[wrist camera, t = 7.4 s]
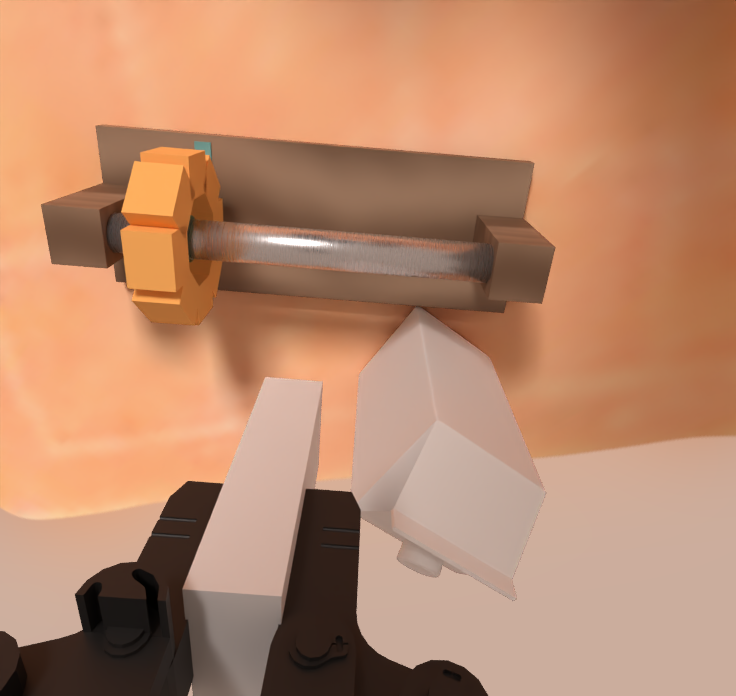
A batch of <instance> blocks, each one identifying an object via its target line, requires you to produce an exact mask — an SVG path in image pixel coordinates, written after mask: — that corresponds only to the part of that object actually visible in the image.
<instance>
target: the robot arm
mask: <svg viewBox="0 0 736 696" xmlns="http://www.w3.org/2000/svg"><path fill="white" fill-rule="evenodd" d="M322 386H323V382H322V381H310V380H297V379H285V378H272V377H265V379H264V382H263V384H262V387H261V389H260V392H259V395H258V397H257V400H256V402H255V405H254V407H253V410H252V412H251V415H250V418H249V420H248V423H247V425H246V428H245V430H244V433H243V435H242V438H241V441H240V443H239V446H238V448H237V451H236V453H235V456H234V458H233V461H232V464H231V466H230V469H229V471H228V474H227V476H226V479H225V481H224V484H220V483H207V482H194V481H187V482H186V483H185V484H184V485H183V486H182V487H181V488H179V489H178V490H177V491H176V492H175V493H174V494H173V495H171V496H170V498H169V500H168V502H167V503H166V505H165V507H164V509H163V511H162V514H161V515H160V520H158V521H157V523H156V525H155V527H154V529H153V531H152V535H151V537H149V539H148V541H147V543H146V545H145V547H144V549H143V551H142V553H141V555H140V557H139V559H138V561H137V562H129V563H120V564H117V565H114V566H112V567H109V568H106V569H103V570H102V571H100V572H99V573H97V574H96V575H94V576H93V577H91V578H90V579H88V580H87V581H86V582H85V583H84V584H83V586H82V587H81V588H80V589H79V590H78V591H77V593H76V594H75V597H76V601H77V605H78V610H79V614H80V619H81V623H82V627H83V630H82V631H80V632H78V633H76V634H73V635H69V636H66V637H63V638H59V639H55V640H50V641H46V642H42V643H37V644H32V645H28V646H23V647H19V648H18V645H17V642H16V639H14V638H13V637H12V636H10V635H9V634H7V633H6V632H3V631H0V696H188V692H189V689H190V686H191V683H192V690H193V696H488V694H487V693H486V691H485V690H484V688H483V686H482V685H481V683H480V681H479V680H478V679H477V678H476V677H475V676H474V675H473V674H471V673H470V672H469V671H468V670H467V669H465V668H464V667H462V666H459V665H457V664H455V663H452V662H450V661H445V660H430V661H428V662H425V663H423V664H420V665H417V666H416V667H415V668H414V669H410V668H408V667H406V666H403V665H400V664H398V663H396V662H394V661H391V660H389V659H387V658H386V657H384V656H382V655H380V654H378V653H377V652H376V651H375V650H374V649H373V648H372V647H370V646H369V645H368V644H367V642H366V640H365V639H364V638H363V636H362V635H361V632H360V629H359V627H358V624H357V614H356V608H357V586H358V563H359V540H360V518H361V509H360V507H359V505H358V503H357V501H356V499H355V497H354V495H353V493H352V492H344V491H330V490H318V489H315V484H316V477H317V471H318V465H319V445H320V426H321V406H322Z"/></svg>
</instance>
